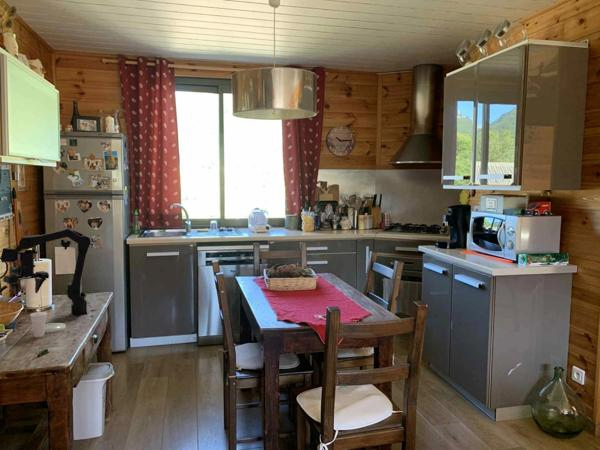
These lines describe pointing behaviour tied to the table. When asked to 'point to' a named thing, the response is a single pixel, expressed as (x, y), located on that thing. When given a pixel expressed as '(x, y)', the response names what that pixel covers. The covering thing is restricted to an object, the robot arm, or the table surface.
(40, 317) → the smoothie
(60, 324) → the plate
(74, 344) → the table surface
